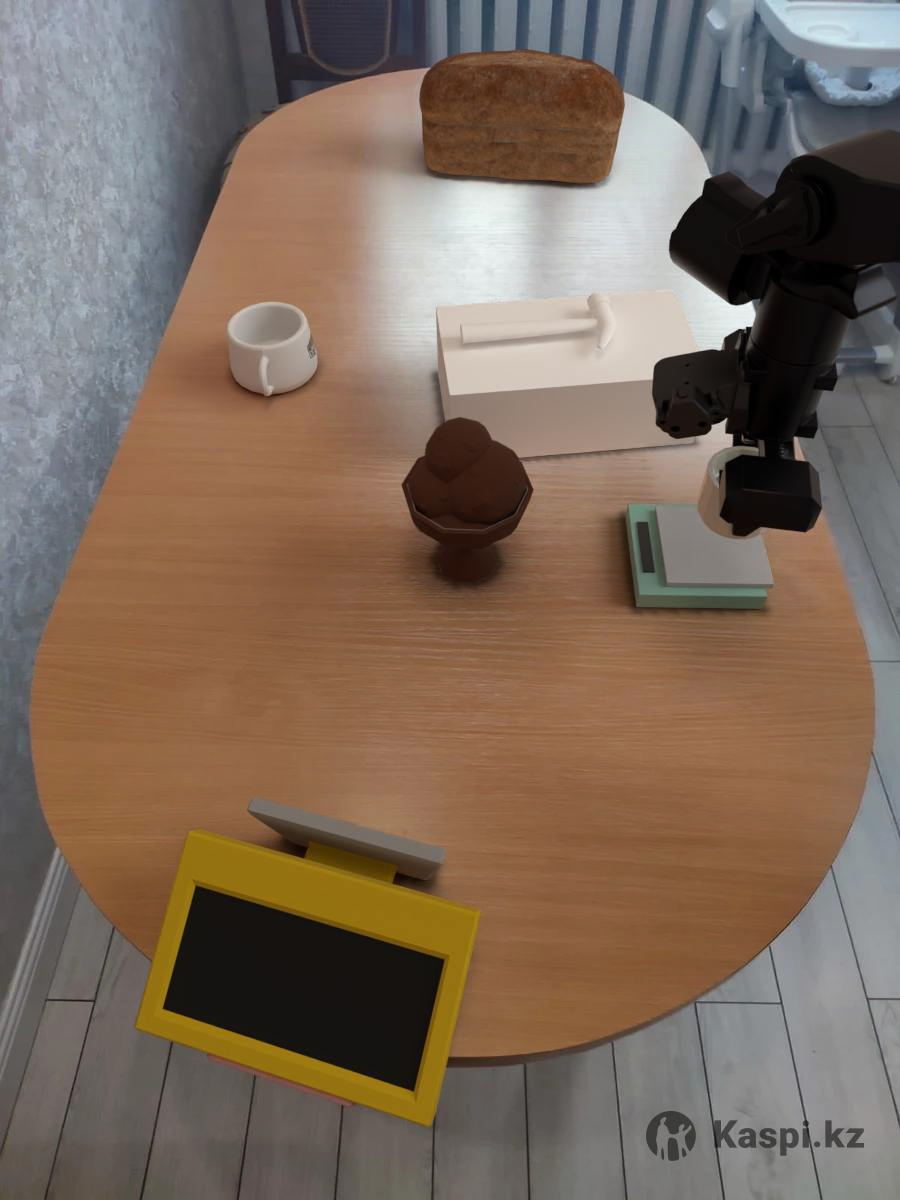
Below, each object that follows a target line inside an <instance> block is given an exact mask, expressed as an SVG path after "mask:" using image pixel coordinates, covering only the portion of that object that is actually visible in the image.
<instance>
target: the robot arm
mask: <svg viewBox="0 0 900 1200" xmlns="http://www.w3.org/2000/svg"><path fill="white" fill-rule="evenodd" d="M668 254H669V258H670V260H671V261H672V264H674V265H675V266H676V267H678V268H679V269H681V270H682V271H683V272H685V273H686V274H688V275H689V276H691V278H693V279H695V280H696V281H697V282H699V283H700V284H702V285H703V286H705V287H706V288H707V289H708V290H710V291H711V292H712V293H713V294H715V295H716V296H718V297H719V298H720V299H722V300H723V301H725V302H726V303H728V304H729V305H731V306H735V307H739V306H744V305H747V304H749V303H751V302H753V301H758V300H759V302H758V305H757V310H756V313H755V316H754V320H753V322H752V323H753V324H752V326H745V328H738V329H736V330H735V331H733V332H730V334H728V335H726V336H724V338H723V341H722V344H721V349H717V348H711V349H710V348H709V349H705V350H704V349H703V350H700V351H698V352H693V353H687V354H682V355H677V356H671V357H666V358H663V359H661V360H660V361H658V362H657V363H656V364H655V366H654V370H653V384H652V397H653V401H654V405H655V409H656V422H655V423H656V426H657V427H659V428H660V429H661V430H662V431H663V432H665V433H668V434H669V436H670V437H672V438H674V439H682V438H689V437H695V438H696V437H701V436H706V435H708V434H709V433H710V432H711V431H712V429H713V426H714V425H718V424H721V423H722V422H725V424H724V433H725V435H732V442H731V443H732V444H731V445H732V446H731V447H735V446H747V447H755V448H758V454H759V456H754V455H745V454H741V455H739V456H737V457H735V458H733V459H731V460H729V461H727V462H725V465H724V468H723V470H719V516H720V517H721V518H722V519H723V520H724V521H726V522H727V523H730V524H732V535H734V536H741V537H746V536H748V535H749V534H751V533H752V532H754V531H755V530H757V529H758V528H760V527H764V528H769V529H771V530H773V529H774V530H780V531H789V532H798V533H805V534H806V533H807V532H809V531H810V530H812V529H814V528H815V525H816V523H817V522H818V519H819V517H820V514H821V513H822V510H823V502H822V492H821V491H822V490H821V483H820V481H821V480H820V473H819V471H817V469H816V468H815V467H814V466H813V465H812V463H811V462H810V461H806V460H798V459H797V458H796V448H795V438H802V439H803V438H804V439H811V440H814V439H815V437H816V434H817V432H818V430H819V421H818V411H817V410H818V409H817V408H818V405H819V403H820V400H821V398H822V396H823V393H824V391H827V392H834V390H835V387H836V385H837V383H838V379H839V377H838V368H837V362H836V361H837V357H838V355H839V352H840V350H841V347H842V346H843V345H842V344H843V342H844V339H845V337H846V335H847V332H848V329H849V327H850V324H851V322H852V321H855V320H857V319H859V318H862V317H863V316H864V317H865V316H866V315H868V314H871V313H873V312H876V311H877V310H880V309H882V308H884V307H887V306H889V305H892V304H893V303H895V302H896V301H897V299H898V293H897V291H896V289H895V287H894V284H893V282H892V281H891V279H889V277H887V275H886V274H885V272H884V268H883V264H900V132H899V131H897V130H895V129H891V128H878V129H877V128H876V129H872V130H870V131H867V132H863V133H861V134H858V135H855V136H852V137H849V138H847V139H844V140H841V141H838V142H836V143H833V144H829V145H826V146H824V147H820V148H818V149H815V150H812V151H809V152H807V153H804V154H801V155H799V156H798V155H797V156H796V157H793V158H792V159H790V162H789V163H788V164H787V165H786V166H785V167H784V168H783V169H782V171H781V173H780V175H779V177H778V178H777V181H776V183H775V187H774V192H772V193H771V194H770V195H769V196H768V197H766V196H764V195H763V194H761V193H759V192H758V191H756V190H754V189H753V188H751V187H750V186H748V185H747V184H746V183H745V182H744V181H743V179H742V178H740V177H739V176H738V175H736V174H734V173H733V172H731V171H729V170H728V171H725V172H723V173H719V174H716V175H714V176H711V177H708V178H706V179H705V180H704V181H703V187H702V192H701V195H700V196H698V197H697V198H696V199H695V200H694V201H693V202H692V203H691V204H690V205H689V206H688V208H687V209H686V210H685V212H683V214H682V215H681V217H680V219H679V221H678V222H677V225H676V226H675V228H674V229H673V230H672V231H671V233H670V238H669V241H668ZM725 420H726V421H725Z"/></svg>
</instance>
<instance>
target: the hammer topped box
mask: <svg viewBox="0 0 900 1200" xmlns="http://www.w3.org/2000/svg"><path fill="white" fill-rule="evenodd" d="M435 316H436V317H435V321H436V322H435V323H436V324H435V325H436V349H437V350H436V353H437V376H438V383H439V389H440V397H441V404H442V410H443V416H444V422H445V421H447V420H450V419H454V418H458V417H462V418H467V419H471V420H475V421H478V422H480V423H481V424H482V425H484V426H485V427H486V429H487V431H488V432H489V434H490V436H491V438H492V440H495V441H498V442H499V443H501V444H503V445H505V446H507V447H508V448H510V449H512V450H513V451H514V452H515V453H516V455H517V456H518V458H519V459H521V458H532V457H544V456H545V457H547V456H556V455H557V456H558V455H567V454H568V455H569V454H580V453H591V452H605V451H606V452H607V451H616V450H629V449H641V448H652V447H653V448H654V447H665V446H676V445H677V446H678V445H690V444H691V445H692V444H694V441H695V438H696V436H695V437H689V438H682V439H674V438H672V437H670V436H669V434H668V433H665V432H663V431H662V430H661V429H660V428H659V427H657V426H656V423H655V422H656V409H655V405H654V401H653V397H652V384H653V370H654V366H655V364H656V363H657V362H658V361H660V360H661V359H663V358H666V357H671V356H677V355H682V354H687V353H693V352H698V351H701V350H700V349H701V348H700V347H699V346H698V343H697V341H696V338H695V336H694V335H693V332H692V329H691V327H690V325H689V322H688V321H687V318H686V317H685V314H684V312H683V309H682V307H681V305H680V303H679V301H678V299H677V296H676V294H675V292H674V290H673V289H672V288H669V289H657V290H655V289H654V290H642V291H631V292H630V291H629V292H615V293H606V292H603V291H595V292H593V293H591V294H589V295H575V296H561V297H560V296H559V297H548V298H534V299H522V300H520V299H519V300H507V301H506V300H505V301H495V302H480V303H465V304H454V305H453V304H452V305H442V306H441V305H439V306H438V305H437V306H435Z"/></svg>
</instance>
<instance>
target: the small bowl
mask: <svg viewBox="0 0 900 1200" xmlns="http://www.w3.org/2000/svg"><path fill="white" fill-rule="evenodd" d="M741 454H745V455H754V456H759V454H758V448H755V447H747V446H735V447H732V446H730V447H724V448H722V449H720V450H719V451H718V452H715V453H714V454H713V455H712V456H711V458H710V460H709V461H708V462H707V466H706V469H705V472H704V475H703V479H702V483H701V487H700V489H699V494H698V497H697V500H696V501H697V504H696V505H697V510H698V513H699V514H700V516H701V519H702V521H703V522H704V524H705V525H706V526H707V527H708V528H709V529H710V530H712V531H713V532H715V533H717V534H719V535H721V536H723V537H727V538H731V539H749V538H753V537H756V536H758V535H760V534H761V533H762V534H763V533H765V532H766V531H768V530H769V529H770V528H764V527H760V528H758V529H757V530H755V531H754V532H752V533H751V534H749V535H748V536H746V537H741V536H734V535H732V524H730V523H727V522H726V521H724V520H723V519H722V518H721V517H720V516H719V470H723V468H724V465H725V462H727V461H729V460H731V459H733V458H735V457H737V456H739V455H741Z"/></svg>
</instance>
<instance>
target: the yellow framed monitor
mask: <svg viewBox="0 0 900 1200" xmlns="http://www.w3.org/2000/svg"><path fill="white" fill-rule="evenodd" d="M246 811H247V812H248V813H249V815H250V816H252V817H253V818H255V819H256V820H258V821H259V822H261V823H262V824H264V825H265V826H267V827H268V828H270V829H271V830H273V831H275V832H276V833H277V834H279V835H280V836H282V837H283V838H285V839H286V840H287V841H289V842H291V843H292V844H295V845H298V846H301V847H304V848H307V850H306V851H305V852H306V853H305V854H304V858H303V857H299V856H296V855H292V854H289V853H285V852H282V851H278V850H275V849H271V848H268V847H264V846H260V845H258V844H254V843H250V842H247V841H243V840H240V839H237V838H232V837H229V836H226V835H222V834H218V833H215V832H211V831H208V830H205V829H202V828H196V829H192V830H189V831H188V832H186V834H185V839H184V841H183V842H184V843H183V846H182V849H181V852H180V857H179V860H178V865H177V868H176V871H175V874H174V875H175V876H174V879H173V882H172V887H171V890H170V894H169V896H168V897H169V898H168V901H167V905H166V909H165V912H164V915H163V919H162V923H161V927H160V930H159V934H158V938H157V940H156V941H157V942H156V944H155V948H154V952H153V956H152V960H151V964H150V966H149V971H148V974H147V977H146V982H145V985H144V988H143V993H142V996H141V1000H140V1003H139V1007H138V1011H137V1014H136V1018H135V1022H134V1028H135V1030H136V1031H139V1032H142V1033H145V1034H147V1035H151V1036H154V1037H156V1038H160V1039H163V1040H166V1041H168V1042H172V1043H174V1044H178V1045H181V1046H184V1047H187V1048H190V1049H192V1050H196V1051H199V1052H202V1053H204V1054H206V1057H207V1059H208V1060H209V1061H211V1062H214V1063H217V1064H220V1065H223V1066H226V1067H229V1068H232V1069H234V1070H238V1071H241V1072H244V1073H247V1074H250V1075H253V1076H256V1077H259V1078H262V1079H264V1080H268V1081H271V1082H274V1083H277V1084H280V1085H283V1086H286V1087H289V1088H292V1089H295V1090H297V1091H301V1092H303V1093H306V1094H309V1095H312V1096H315V1097H318V1098H321V1099H325V1100H327V1101H330V1102H333V1103H336V1104H339V1105H342V1106H345V1107H349V1108H350V1107H355V1106H356V1105H360V1106H363V1107H365V1108H367V1109H368V1108H369V1109H371V1110H374V1111H377V1112H381V1113H383V1114H387V1115H389V1116H392V1117H396V1118H398V1119H401V1120H403V1121H404V1120H405V1121H407V1122H410V1123H413V1124H416V1125H420V1126H422V1127H425V1128H429V1127H431V1126H432V1125H433V1122H434V1119H435V1116H436V1114H437V1107H438V1104H439V1100H440V1096H441V1091H442V1088H443V1087H442V1086H443V1083H444V1079H445V1074H446V1070H447V1066H448V1060H449V1057H450V1052H451V1049H452V1044H453V1038H454V1034H455V1030H456V1025H457V1021H458V1017H459V1012H460V1008H461V1005H462V1004H461V1003H462V999H463V996H464V992H465V986H466V981H467V978H468V973H469V969H470V965H471V961H472V956H473V952H474V947H475V943H476V938H477V934H478V930H479V925H480V922H481V916H482V911H481V909H480V908H478V907H475V906H472V905H469V904H466V903H461V902H458V901H454V900H451V899H447V898H444V897H440V896H436V895H433V894H429V893H426V892H424V891H423V892H422V891H419V890H415V889H412V888H408V887H405V886H401V885H398V884H394V879H395V876H396V873H397V874H401V875H404V876H408V877H410V878H411V877H412V878H414V879H418V880H422V881H428V880H430V879H432V877H433V876H434V875H435V874H436V872H438V870H439V869H440V868H441V867H442V866H443V864H444V861H445V857H446V854H447V853H446V850H445V848H442V847H439V846H435V845H431V844H428V843H424V842H420V841H417V840H414V839H409V838H406V837H402V836H398V835H395V834H391V833H389V832H388V833H387V832H384V831H380V830H377V829H373V828H369V827H365V826H362V825H359V824H354V823H351V822H347V821H343V820H341V819H340V820H339V819H336V818H332V817H329V816H326V815H321V814H318V813H314V812H311V811H307V810H303V809H299V808H296V807H292V806H289V805H285V804H281V803H279V802H278V803H277V802H274V801H270V800H266V799H263V798H260V797H255V796H254V797H252V798H251V799H250V801H249V803H248V805H247V808H246Z"/></svg>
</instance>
